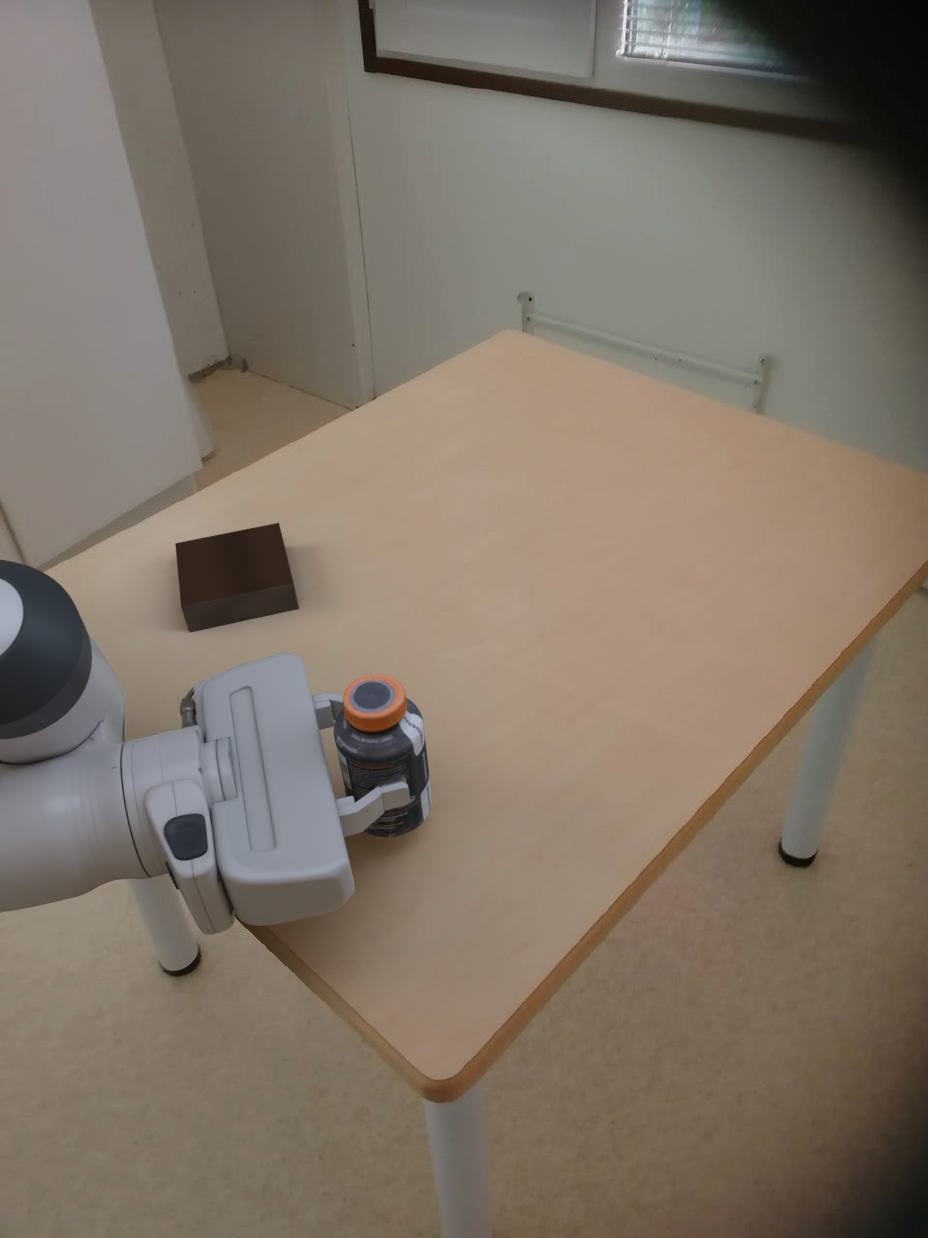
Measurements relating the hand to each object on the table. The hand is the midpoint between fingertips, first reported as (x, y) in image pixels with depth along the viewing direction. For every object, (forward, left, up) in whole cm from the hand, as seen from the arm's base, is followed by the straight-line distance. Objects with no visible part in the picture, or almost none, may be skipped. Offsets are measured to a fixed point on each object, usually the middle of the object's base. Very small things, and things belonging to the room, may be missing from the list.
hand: (395, 746), depth 64 cm
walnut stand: (-9, +31, -8) cm, 33 cm away
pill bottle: (-1, 0, -6) cm, 6 cm away
